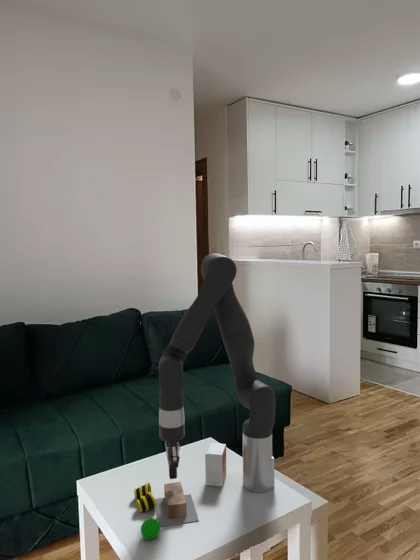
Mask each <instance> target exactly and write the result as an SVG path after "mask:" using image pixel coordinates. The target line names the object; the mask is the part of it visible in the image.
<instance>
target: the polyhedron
mask: <svg viewBox="0 0 420 560" xmlns="http://www.w3.org/2000/svg"><path fill="white" fill-rule="evenodd" d="M140 532H141V535H142V536H143V538H144V539H147V540H153V539H155V538H157V537H158V535H159V534H160V532H161V527H160V524H159V523H158V519H156V518H152V517H149V518H147V519H146V520H143V523H142V524H141V527H140Z"/></svg>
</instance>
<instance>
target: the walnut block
mask: <svg viewBox="0 0 420 560" xmlns="http://www.w3.org/2000/svg"><path fill="white" fill-rule="evenodd" d="M163 488H164V498H165V502H166V507H167V512H168V517H169V519H173V518H179V517H186V516H187V509H186V500H185V496H184V495H185V493H184V490H183V486H182V482H181V481H178V482H170V483H164V484H163Z"/></svg>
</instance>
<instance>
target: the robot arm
mask: <svg viewBox="0 0 420 560" xmlns="http://www.w3.org/2000/svg"><path fill="white" fill-rule="evenodd" d="M237 271H238V269H237V265H236V263H235V262H234V260H233V259H232V258H230V257H229V256H227V255H224V254H221V253H210V254H207V255H206V256H205V257H204V258H203V259H202V261H201V265H200V273H201V277H202V278H203V282H202V286H201V288H200V291H199V292H198V295H197V296H196V298H195V300H194V301H193V302H192V304H191V305H190V306H189V307H188V309H187V310H186V311H185V313H184V314H183V315H182V316H181V319H180V321H179V322H178V324H177V326H176V329H175V331H174V332H173V335H172V337H171V340H170V342H169V343H168V344H167V346H166V348H165V349H164V351H163V352H162V354H161V357H160V359H159V362H158V382H159V399H158V400H159V409H158V410H159V411H158V429H159V430H158V432H159V433H158V436H159V438H160V440H161V441H163V442H164V446H165V451H166V453H165V455H166V460H167V464H168V477H169V480H174V479H177V478H178V468H179V463H180V457H181V456H180V451H181V450H180V449H181V447H180V443H179V441H181V440H183V439H184V438H185V435H186V429H185V428H186V427H185V426H186V425H185V419H186V418H185V408H184V407H185V406H184V391H183V387H184V386H183V385H184V366H183V365H184V363H185V360H186V359H187V356H188V355H189V353H191V352H192V351H193V349H194V348H195V346H196V345H197V344H196V343H197V342H198V341H199V337H200V336H201V333H202V331H203V330H204V328H205V326H206V324H207V322H208V319H209V318H210V316H211V314H212V313H213V311H214V313H215V315H216V316H215V317H216V321H217V325H218V327H219V333H220V335H221V338H222V342H223V345H224V348H225V351H226V354H227V358H228V360H229V364H230V367H231V369H232V373H233V377H234V383H235V384H234V385H235V389H236V395H237V397H238V400H239V402H240V404H241V405H242V406H243V407H244V408H246V409H248V410H249V416H248V417H249V418H248V419H246V420H244V422H243V423H242V485H243V488H245V489H246V490H247V491H250V492H252V493H265V492H268V491H270V490H271V489H274V488H275V457H274V456H273V429H274V426H275V421H276V406H277V404H276V403H277V402H276V401H277V399H276V394H275V391H274V389H273V388H272V387H271V386H270V385H267V383H263V382H262V381H260V380H259V377H258V375H257V372H256V369H255V366H254V360H253V359H254V354H255V353H254V352H255V339H254V334H253V331H252V327H251V325H250V321H249V319H248V317H247V315H246V312H245V311H244V309H243V307H242V305H241V303H240V301H239V300H238V298H237V295H236V293H235V289H234V285H233V281H234V280H235V279H236V276H237Z"/></svg>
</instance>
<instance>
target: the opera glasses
mask: <svg viewBox="0 0 420 560" xmlns="http://www.w3.org/2000/svg"><path fill="white" fill-rule="evenodd" d="M133 493H134V498H135V499H134V500H135V503H136V506H137V507H136V508H137V509H138V511H139V513H140V514H141V513H143V512H145V511H150V510H156V507H157V505H156V501H155V499H156V498H155V497H154V495H153V493H152V486H151V483H150V482H147V481H146V483H145V484H144V485H140V486H139V487H137V488H134V489H133Z"/></svg>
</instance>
